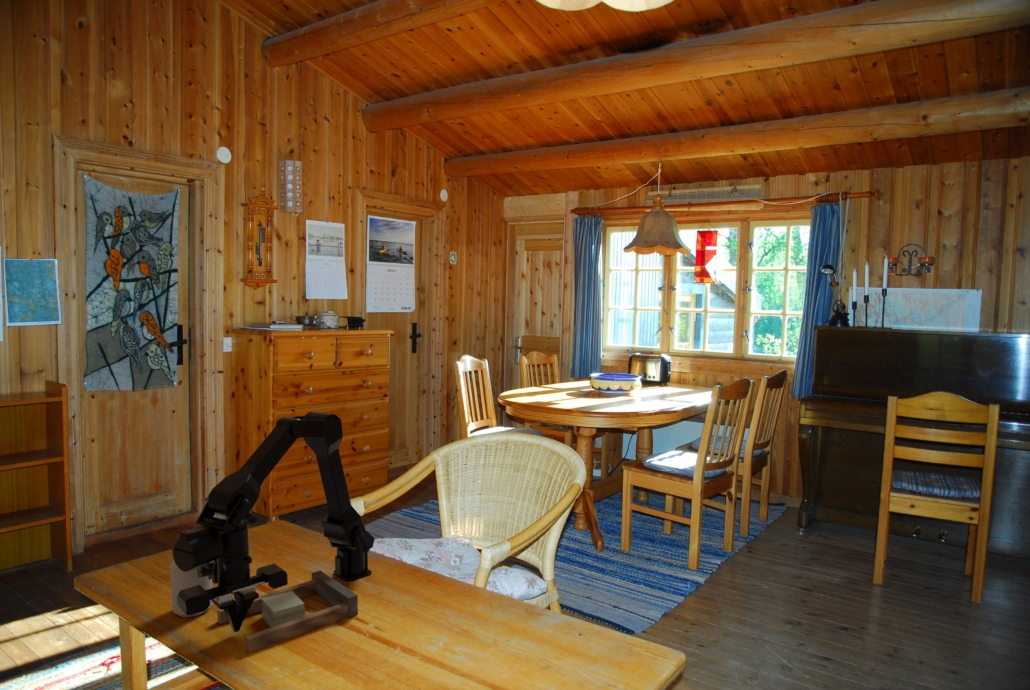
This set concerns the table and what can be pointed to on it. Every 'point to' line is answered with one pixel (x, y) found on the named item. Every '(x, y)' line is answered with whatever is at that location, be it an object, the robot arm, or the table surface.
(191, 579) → the can
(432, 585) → the table surface
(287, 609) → the block
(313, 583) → the bay
